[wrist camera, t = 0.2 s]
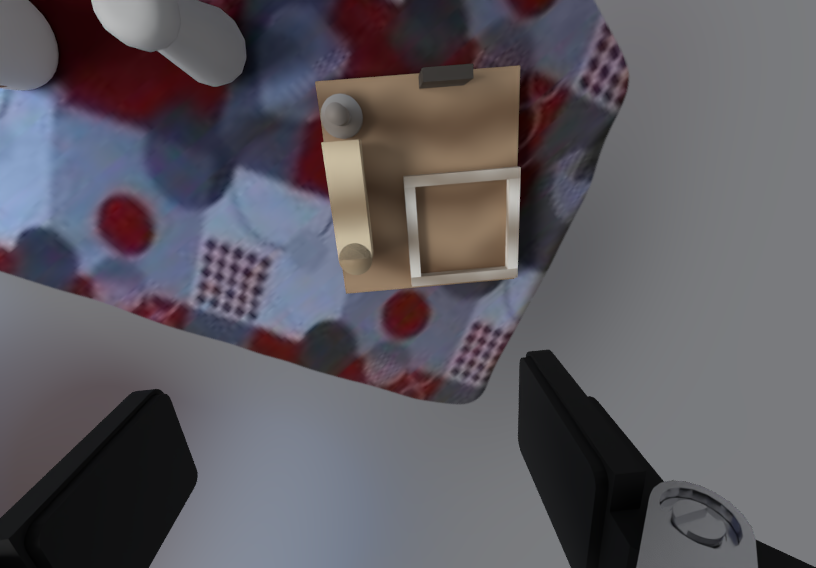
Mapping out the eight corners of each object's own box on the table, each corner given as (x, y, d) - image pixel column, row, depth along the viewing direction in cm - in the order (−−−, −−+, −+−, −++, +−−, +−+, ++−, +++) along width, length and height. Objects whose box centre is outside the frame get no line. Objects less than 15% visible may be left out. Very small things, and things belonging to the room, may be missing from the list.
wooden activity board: (318, 84, 34) (302, 71, 28) (514, 68, 34) (542, 52, 28) (347, 288, 41) (340, 313, 35) (510, 273, 41) (530, 296, 35)
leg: (327, 142, 33) (321, 142, 30) (361, 139, 33) (358, 139, 30) (344, 266, 37) (341, 276, 34) (375, 263, 37) (373, 273, 34)
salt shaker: (267, 72, 33) (199, 33, 21) (212, 101, 34) (115, 79, 22) (230, 0, 31) (130, -89, 19) (172, 32, 32) (40, -35, 20)
